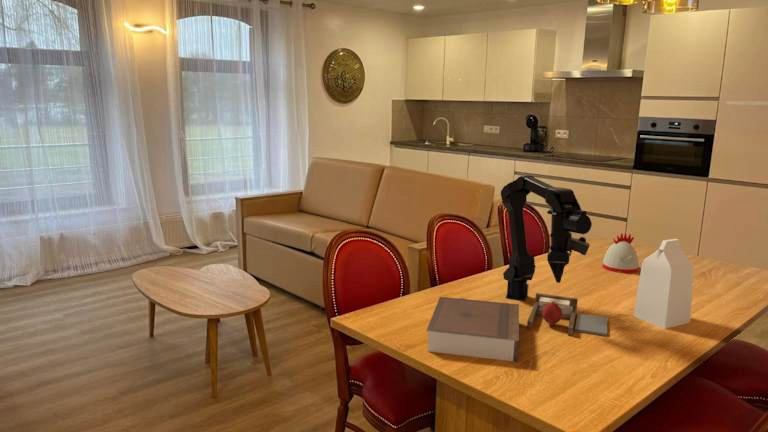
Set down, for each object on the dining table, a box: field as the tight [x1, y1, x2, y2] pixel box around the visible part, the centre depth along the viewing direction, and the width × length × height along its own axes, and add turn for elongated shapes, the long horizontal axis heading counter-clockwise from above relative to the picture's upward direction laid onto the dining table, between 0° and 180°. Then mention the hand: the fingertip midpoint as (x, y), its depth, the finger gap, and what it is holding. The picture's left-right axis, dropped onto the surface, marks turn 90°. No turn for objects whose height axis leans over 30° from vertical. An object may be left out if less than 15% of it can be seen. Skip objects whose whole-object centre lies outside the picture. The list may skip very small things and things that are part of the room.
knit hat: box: [601, 232, 640, 274], centre depth 238 cm, size 14×14×15 cm
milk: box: [632, 238, 694, 330], centre depth 181 cm, size 12×12×26 cm
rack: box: [526, 292, 579, 337], centre depth 180 cm, size 13×20×5 cm, turn 158°
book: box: [426, 296, 520, 363], centre depth 167 cm, size 24×28×6 cm
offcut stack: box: [537, 297, 573, 320], centre depth 186 cm, size 11×4×4 cm, turn 68°
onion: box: [542, 301, 563, 326], centre depth 176 cm, size 6×6×8 cm
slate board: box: [574, 313, 609, 337], centre depth 178 cm, size 9×14×1 cm, turn 158°
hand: (559, 279), depth 180 cm, fingers open, 9 cm apart
